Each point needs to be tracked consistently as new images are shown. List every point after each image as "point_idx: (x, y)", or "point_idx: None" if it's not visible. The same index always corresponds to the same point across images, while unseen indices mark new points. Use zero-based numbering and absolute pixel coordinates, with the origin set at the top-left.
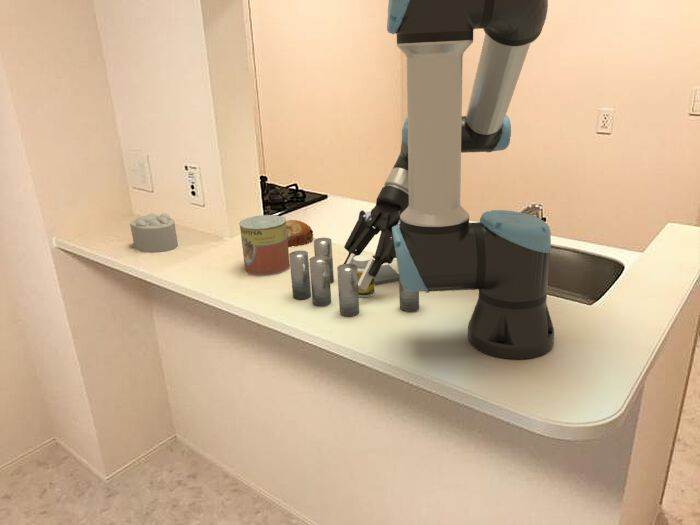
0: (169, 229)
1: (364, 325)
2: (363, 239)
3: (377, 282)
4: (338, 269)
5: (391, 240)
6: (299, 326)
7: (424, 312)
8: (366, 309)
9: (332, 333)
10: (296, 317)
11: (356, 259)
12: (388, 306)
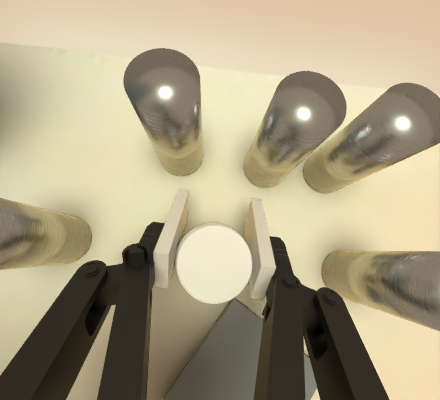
0: None
1: (123, 125)
2: (268, 359)
3: (212, 329)
4: (179, 52)
5: (34, 370)
6: (232, 71)
7: None
8: (158, 187)
9: None
10: (262, 95)
11: (224, 233)
12: (119, 224)
